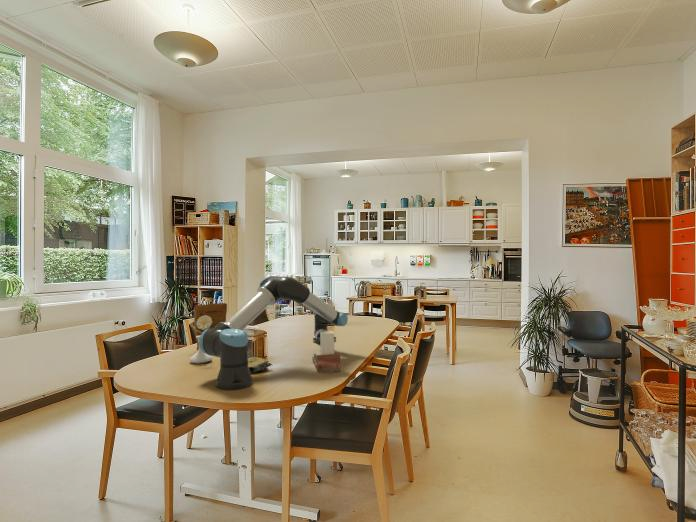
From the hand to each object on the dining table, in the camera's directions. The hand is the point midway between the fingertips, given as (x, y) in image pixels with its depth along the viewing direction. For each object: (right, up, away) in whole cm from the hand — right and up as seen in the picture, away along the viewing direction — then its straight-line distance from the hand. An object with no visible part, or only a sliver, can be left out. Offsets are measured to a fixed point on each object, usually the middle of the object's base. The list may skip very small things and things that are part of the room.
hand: (328, 346), depth 207 cm
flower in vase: (-67, -11, +9) cm, 69 cm away
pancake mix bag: (-72, -10, +38) cm, 82 cm away
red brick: (-1, -10, 0) cm, 10 cm away
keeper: (0, -8, -7) cm, 11 cm away
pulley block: (-41, -11, -2) cm, 42 cm away
